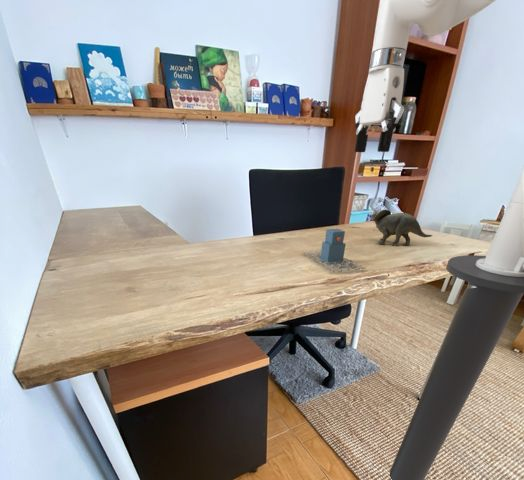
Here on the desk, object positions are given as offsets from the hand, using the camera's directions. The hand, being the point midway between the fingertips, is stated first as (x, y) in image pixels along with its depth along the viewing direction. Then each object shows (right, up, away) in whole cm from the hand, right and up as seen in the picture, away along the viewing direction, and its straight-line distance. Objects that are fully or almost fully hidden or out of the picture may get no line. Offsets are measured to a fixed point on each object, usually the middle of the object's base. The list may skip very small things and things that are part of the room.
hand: (370, 151), depth 78 cm
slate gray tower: (-9, -27, +5) cm, 29 cm away
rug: (-9, -28, +5) cm, 30 cm away
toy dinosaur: (+17, -16, +24) cm, 34 cm away
